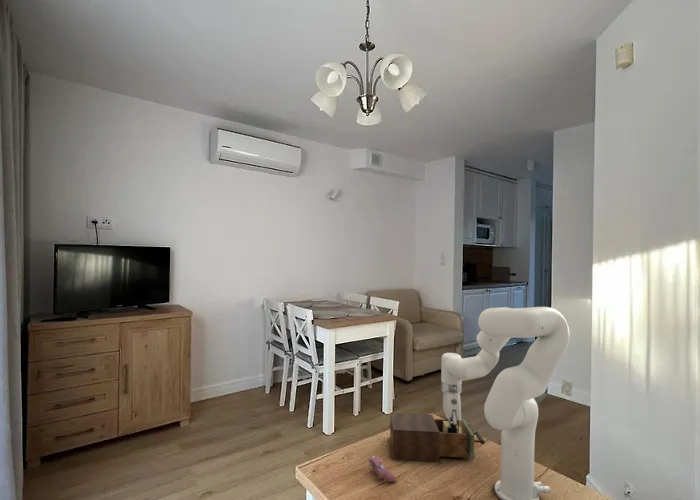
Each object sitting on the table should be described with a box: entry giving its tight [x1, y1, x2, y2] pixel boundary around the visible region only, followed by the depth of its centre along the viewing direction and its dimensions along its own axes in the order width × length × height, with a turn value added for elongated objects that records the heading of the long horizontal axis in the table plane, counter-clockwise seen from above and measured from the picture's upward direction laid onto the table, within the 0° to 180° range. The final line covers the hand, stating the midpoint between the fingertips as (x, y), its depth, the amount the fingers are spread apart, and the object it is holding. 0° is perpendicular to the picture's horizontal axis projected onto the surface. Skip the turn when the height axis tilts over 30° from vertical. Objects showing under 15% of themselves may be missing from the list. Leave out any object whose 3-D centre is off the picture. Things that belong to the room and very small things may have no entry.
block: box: [443, 421, 458, 433], centre depth 138 cm, size 5×5×5 cm
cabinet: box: [389, 412, 440, 462], centre depth 139 cm, size 17×15×11 cm
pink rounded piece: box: [367, 455, 396, 483], centre depth 122 cm, size 10×5×7 cm, turn 25°
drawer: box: [434, 418, 486, 461], centre depth 139 cm, size 20×13×9 cm, turn 87°
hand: (450, 434), depth 138 cm, fingers closed on block, 4 cm apart
